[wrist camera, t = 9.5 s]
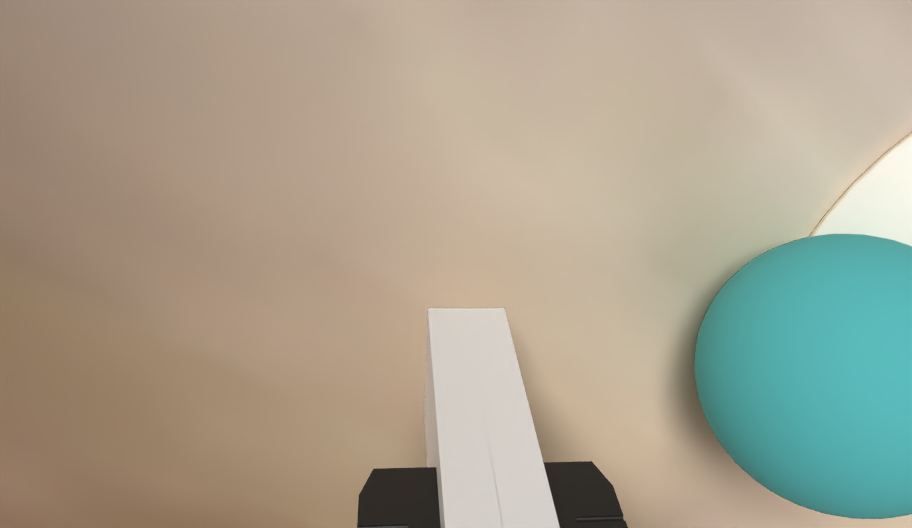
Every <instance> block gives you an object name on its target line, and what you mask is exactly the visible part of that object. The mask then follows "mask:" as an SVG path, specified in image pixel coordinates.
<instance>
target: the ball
mask: <svg viewBox="0 0 912 528" xmlns="http://www.w3.org/2000/svg"><path fill="white" fill-rule="evenodd" d="M694 373H695V379H696V386H697V393H698V397H699V400H700V403H701V406H702V409H703V412H704V415H705V418H706V420H707V422H708V424H709V425H710V427H711V429H712V431H713V433H714V434H715V436H716V438H717V440H718V441H719V443H720V444H721V445H722V446H723V448H724V449H725V450H726V451H727V453H728V454H729V455H730V456H731V458H732V459H733V460H734V461H735V463H737V464H738V465H739V466H740V467H741V468H742V469H743V470H744V471H745V472H747V473H748V474H749V475H750V476H751V477H752V478H753V479H755V480H756V481H757V482H758V483H760V484H761V485H763V486H764V487H766V488H767V489H769V490H770V491H772V492H774V493H776V494H777V495H779V496H781V497H783V498H785V499H787V500H789V501H791V502H793V503H795V504H798V505H800V506H803V507H806V508H809V509H812V510H815V511H818V512H821V513H825V514H830V515H836V516H842V517H848V518H860V519H883V518H893V517H899V516H904V515H909V514H912V246H910V245H907V244H904V243H901V242H898V241H895V240H891V239H886V238H881V237H876V236H870V235H864V234H827V235H818V236H812V237H806V238H802V239H798V240H794V241H792V242H789V243H786V244H784V245H781V246H778V247H776V248H773V249H771V250H769V251H767V252H765V253H763V254H761V255H759V256H758V257H756V258H755V259H753V260H752V261H750V262H749V263H747V264H746V265H745V266H744V267H743V268H741V269H740V270H739V271H738V272H736V273H735V274H734V275H733V276H732V277H731V278H730V279H729V280H728V281H727V282H726V283H725V285H724V286H723V287H722V288H721V290H720V291H719V292H718V294H717V295H716V297H715V298H714V300H713V301H712V303H711V305H710V307H709V308H708V310H707V312H706V314H705V316H704V319H703V321H702V324H701V326H700V330H699V333H698V337H697V342H696V349H695V359H694Z"/></svg>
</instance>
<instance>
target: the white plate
mask: <svg viewBox="0 0 912 528" xmlns="http://www.w3.org/2000/svg"><path fill="white" fill-rule="evenodd" d="M827 234H864V235H870V236H876V237H881V238H886V239H891V240H895V241H898V242H901V243H904V244H907V245H910V246H912V132H911V133H910V134H908V135H907V136H906V137H905V138H903V139H902V140H901V141H899V142H898V143H897V144H896V145H894V146H893V147H892V148H891V149H889V150H888V151H887V152H885V153H884V154H883V155H882V156H881V157H880V158H879V159H878V160H877V161H876V162H875V163H874V164H873V165H872V166H871V167H869V168H868V169H867V170H866V171H865V172H864V173H863V174H862V175H861V176H860V177H859V178H858V179H857V180H856V181H855V182H854V183H852V185H851V186H850V187H849V188H848V189H847V190H846V191H845V193H844V194H843V195H842V196H841V197H840V198H839V199H838V200H837V202H836V203H835V204H834V205H833V206H832V207H831V208H830V210H829V211H828V212H827V213H826V214H825V215H824V217H823V218H822V219H821V221H820V222H819V224H818V225H817V226H816V228H815V229H814V231H813V232H812V233H811V235H810V236H809V237H812V236H818V235H827Z"/></svg>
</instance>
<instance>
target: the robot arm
mask: <svg viewBox="0 0 912 528" xmlns="http://www.w3.org/2000/svg"><path fill="white" fill-rule="evenodd" d="M424 420H425V438H426V455H427V468H388V469H373V471H372V473H371V475H370V476H369V478H368V480H367V482H366V484H365V485H364V487H363V489H362V491H361V493H360V494H359V505H358V524H357V528H628V527H627V524H626V522H625V521H624V520H623V513H622V510H621V507H620V505H619V502H618V499H617V496H616V493H615V491H614V488H613V486H612V484H611V483H610V482H609V481H608V480H607V479H606V478H605V476H604V475H603V474H602V473H601V472H600V471H599V469H598V468H597V467H596V466H595V465H594V464H593V463H592V461H591V462H551V463H543V459H542V455H541V451H540V447H539V443H538V439H537V435H536V431H535V427H534V423H533V420H532V416H531V412H530V408H529V404H528V400H527V396H526V392H525V388H524V384H523V380H522V376H521V372H520V368H519V364H518V360H517V356H516V352H515V348H514V344H513V340H512V336H511V332H510V328H509V325H508V321H507V317H506V313H505V309H504V308H428V319H427V348H426V377H425V406H424Z"/></svg>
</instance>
